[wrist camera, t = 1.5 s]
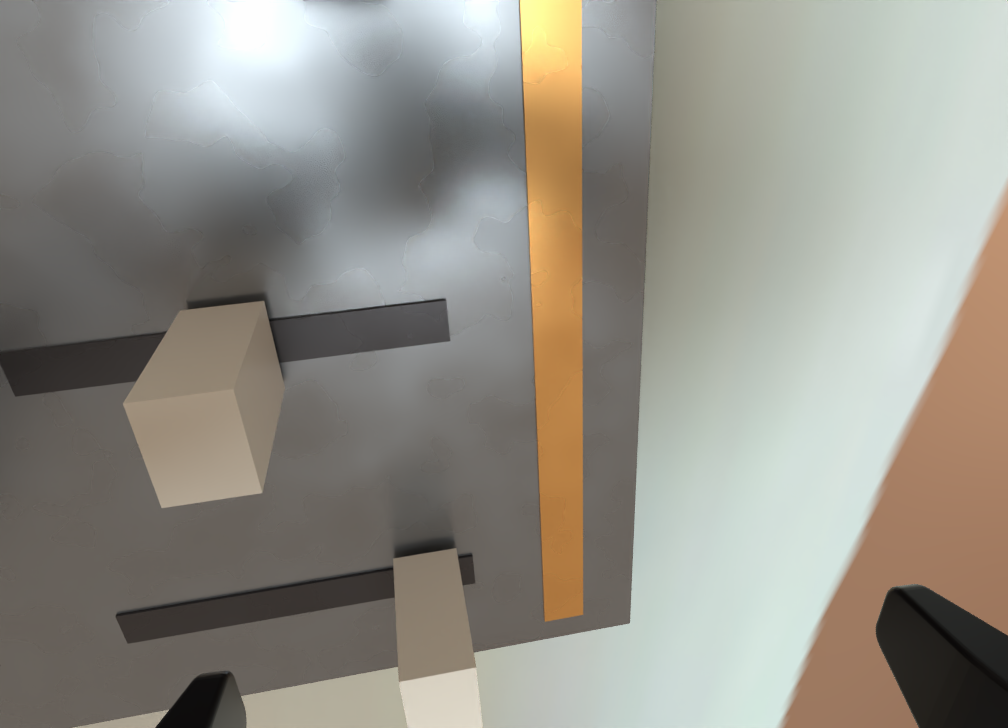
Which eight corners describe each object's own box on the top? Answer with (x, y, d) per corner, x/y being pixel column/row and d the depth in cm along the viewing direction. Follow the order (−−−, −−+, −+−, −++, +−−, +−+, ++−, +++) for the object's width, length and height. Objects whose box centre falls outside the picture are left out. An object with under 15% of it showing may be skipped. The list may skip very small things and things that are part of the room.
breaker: (403, 615, 23) (410, 742, 19) (393, 558, 22) (398, 682, 18) (462, 604, 23) (483, 728, 19) (456, 547, 22) (475, 667, 18)
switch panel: (11, 690, 24) (-18, 747, 22) (-576, -290, 12) (-745, -343, 10) (612, 583, 27) (630, 625, 25) (635, -299, 15) (673, -343, 13)
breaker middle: (206, 398, 18) (161, 508, 14) (179, 310, 17) (122, 403, 13) (284, 388, 18) (262, 493, 14) (263, 300, 17) (233, 389, 13)
